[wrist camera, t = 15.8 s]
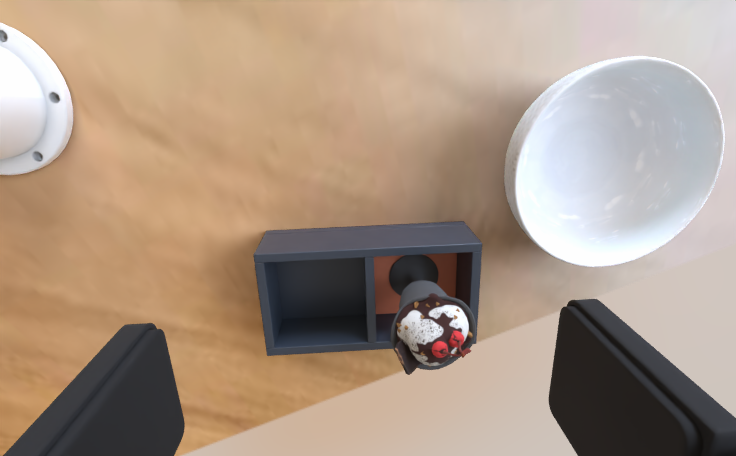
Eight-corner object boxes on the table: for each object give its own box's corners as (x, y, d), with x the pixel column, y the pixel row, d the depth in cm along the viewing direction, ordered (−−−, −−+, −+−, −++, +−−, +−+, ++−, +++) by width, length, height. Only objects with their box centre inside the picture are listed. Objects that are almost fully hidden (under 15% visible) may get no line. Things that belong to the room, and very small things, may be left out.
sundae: (449, 244, 40) (504, 331, 26) (443, 305, 43) (490, 415, 29) (382, 243, 40) (401, 330, 26) (379, 305, 42) (394, 416, 28)
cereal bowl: (544, 28, 36) (590, 15, 29) (697, 105, 38) (771, 110, 32) (456, 204, 40) (478, 228, 34) (597, 262, 43) (643, 294, 37)
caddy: (459, 310, 44) (476, 344, 39) (277, 320, 44) (266, 356, 38) (463, 221, 41) (482, 243, 35) (266, 230, 40) (253, 254, 35)
